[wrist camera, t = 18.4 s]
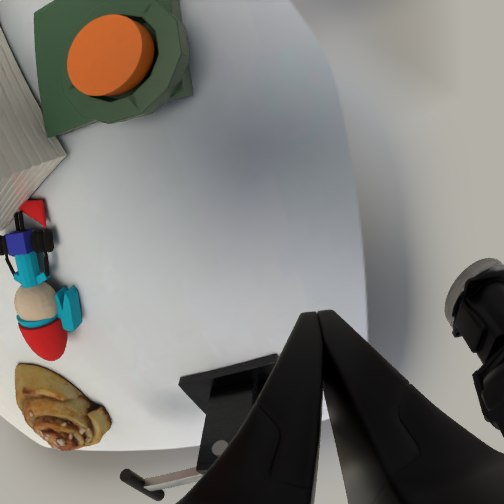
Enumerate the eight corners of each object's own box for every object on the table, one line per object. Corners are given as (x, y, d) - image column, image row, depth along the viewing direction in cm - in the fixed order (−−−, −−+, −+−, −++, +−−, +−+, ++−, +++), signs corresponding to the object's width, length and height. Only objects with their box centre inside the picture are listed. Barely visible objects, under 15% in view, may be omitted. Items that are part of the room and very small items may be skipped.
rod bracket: (219, 420, 31) (207, 496, 22) (179, 377, 28) (156, 463, 19) (305, 402, 29) (310, 486, 20) (276, 353, 26) (276, 453, 17)
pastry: (124, 434, 35) (108, 480, 28) (48, 415, 37) (30, 452, 30) (82, 372, 30) (54, 425, 22) (6, 357, 31) (-22, 395, 24)
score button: (149, 10, 12) (137, 1, 10) (160, 82, 14) (147, 80, 12) (80, 37, 12) (63, 34, 11) (89, 105, 14) (72, 107, 13)
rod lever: (153, 486, 23) (153, 505, 21) (120, 465, 22) (118, 486, 19) (261, 457, 23) (267, 478, 21) (236, 433, 21) (241, 456, 19)
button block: (184, -38, 13) (166, -63, 9) (205, 103, 17) (189, 102, 14) (51, 16, 14) (17, 9, 10) (66, 142, 19) (32, 152, 15)
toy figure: (7, 202, 22) (40, 342, 27) (-27, 212, 18) (17, 367, 22) (65, 191, 22) (97, 348, 27) (31, 200, 18) (77, 377, 22)
